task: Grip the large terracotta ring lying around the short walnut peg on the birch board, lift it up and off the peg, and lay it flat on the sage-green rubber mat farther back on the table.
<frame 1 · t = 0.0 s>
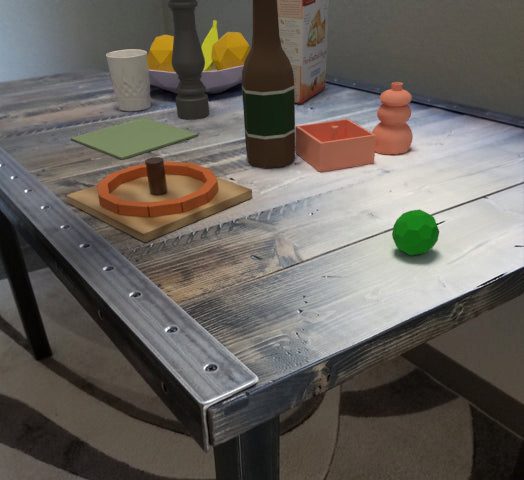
fruit bowl: (203, 87, 131), on the table
grey turned spindle: (193, 115, 113), on the table
pottery: (358, 155, 92), on the table
mat: (134, 138, 102), on the table
ring: (158, 187, 79), point 2 cm above the table, touching post stand
polyhedron: (412, 253, 66), on the table
post stand: (159, 200, 80), on the table
white cup: (135, 108, 119), on the table
cracker box: (302, 96, 122), on the table
beer bottle: (270, 161, 91), on the table
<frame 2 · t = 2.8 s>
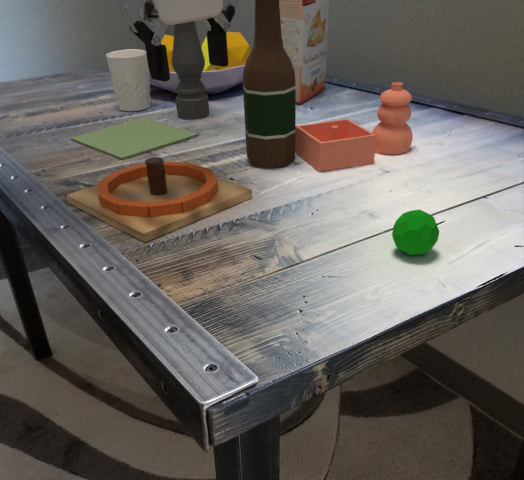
hand: (190, 72, 75), 15 cm above the table, tool pointing down, fingers open, 9 cm apart
nothing on the table moved.
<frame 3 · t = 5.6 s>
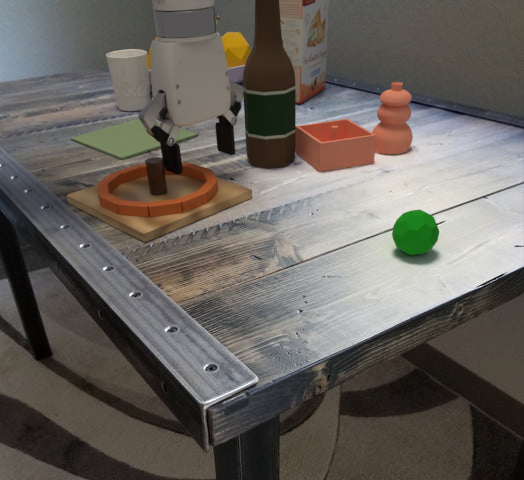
hand: (201, 162, 82), 3 cm above the table, tool pointing down, fingers open, 9 cm apart
nothing on the table moved.
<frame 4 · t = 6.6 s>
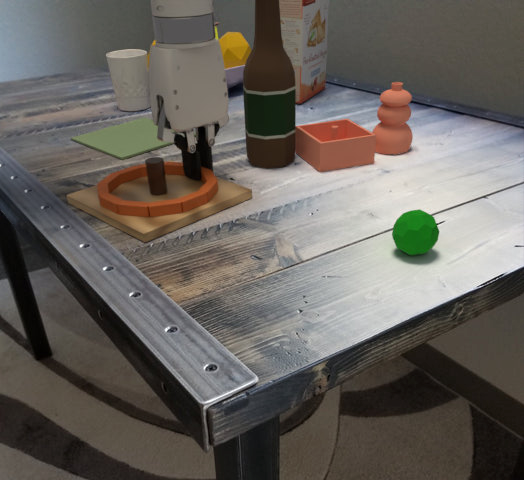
hand: (199, 175, 83), 2 cm above the table, tool pointing down, fingers closed on ring, 1 cm apart
ring: (158, 187, 79), point 2 cm above the table, touching gripper, post stand
everything else where it was.
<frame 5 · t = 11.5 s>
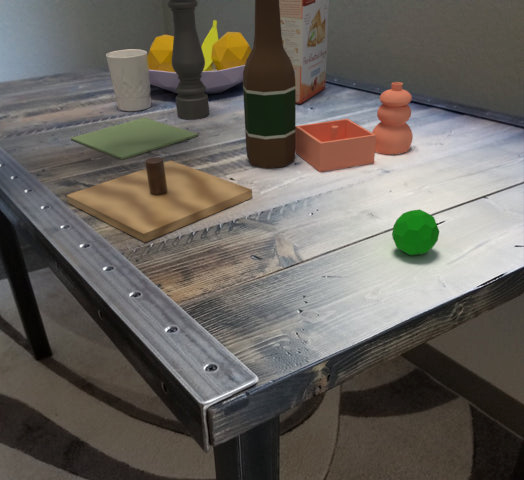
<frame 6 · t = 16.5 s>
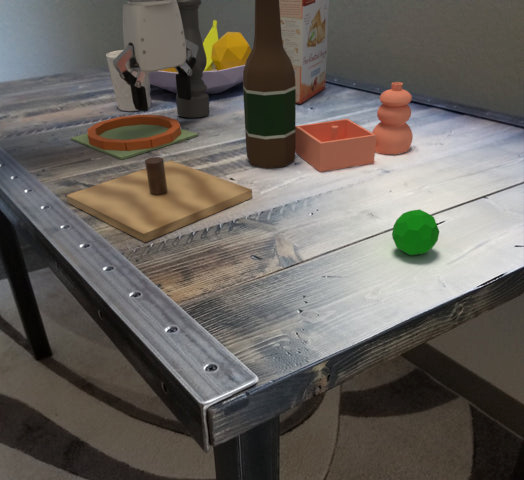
hand: (163, 104, 104), 4 cm above the table, tool pointing down, fingers open, 9 cm apart
ring: (134, 131, 102), point 1 cm above the table, touching mat
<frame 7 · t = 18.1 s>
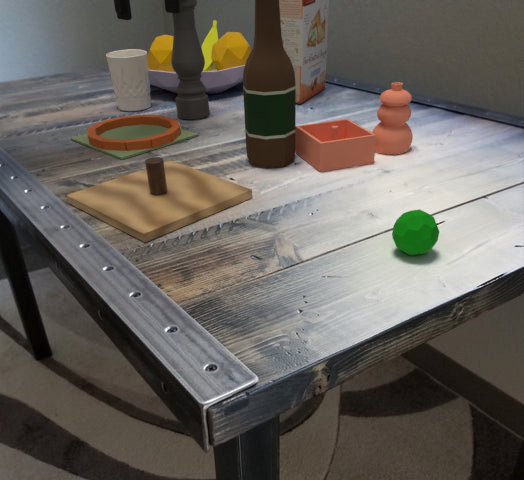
hand: (149, 15, 95), 18 cm above the table, tool pointing down, fingers open, 9 cm apart
grey turned spindle: (193, 116, 113), on the table, touching gripper
everything else where it was.
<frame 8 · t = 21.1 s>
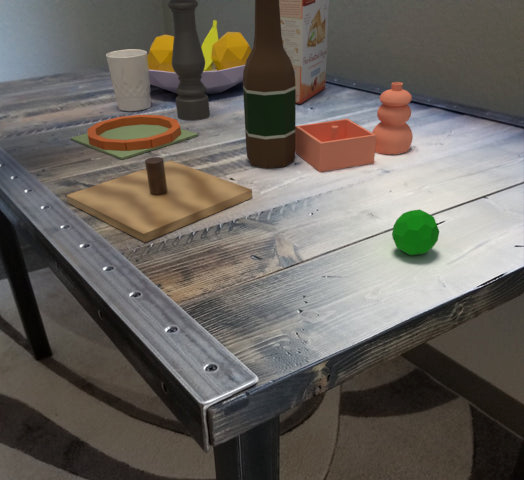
grey turned spindle: (193, 116, 113), on the table
everything else where it was.
at the end: ring inside the target area on the mat (0.1 cm from its centre), point 1.1 cm above the mat's base; ring tilted 0°; ring moved 29.5 cm from its start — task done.
